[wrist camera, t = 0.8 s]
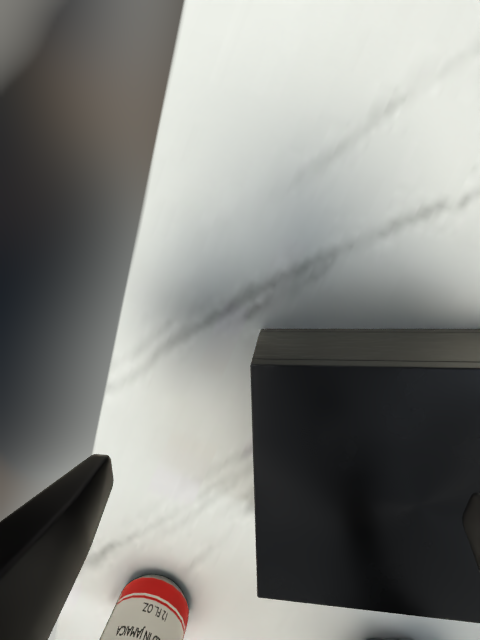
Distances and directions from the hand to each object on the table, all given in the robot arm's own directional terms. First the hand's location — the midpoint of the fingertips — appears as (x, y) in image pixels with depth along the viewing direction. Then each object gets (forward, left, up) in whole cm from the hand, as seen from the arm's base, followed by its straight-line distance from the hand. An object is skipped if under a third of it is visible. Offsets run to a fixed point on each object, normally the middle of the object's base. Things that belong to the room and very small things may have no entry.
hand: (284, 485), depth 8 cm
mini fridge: (-7, -7, -14) cm, 17 cm away
